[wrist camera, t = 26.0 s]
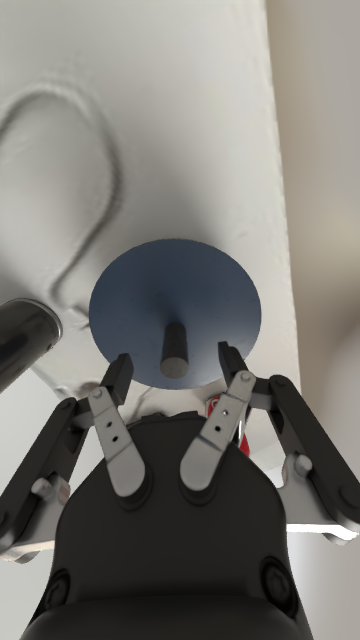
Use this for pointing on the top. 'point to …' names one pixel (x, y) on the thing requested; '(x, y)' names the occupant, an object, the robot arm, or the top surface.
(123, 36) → the top surface
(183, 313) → the lid
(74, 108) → the top surface
